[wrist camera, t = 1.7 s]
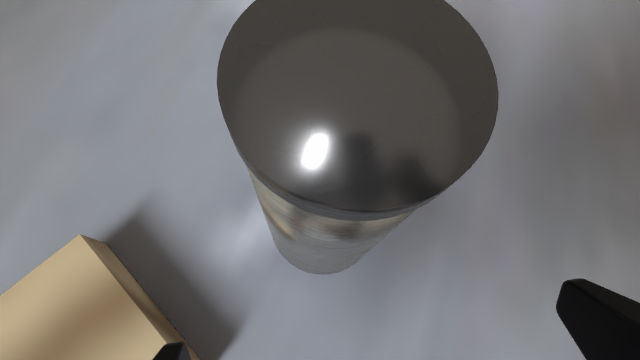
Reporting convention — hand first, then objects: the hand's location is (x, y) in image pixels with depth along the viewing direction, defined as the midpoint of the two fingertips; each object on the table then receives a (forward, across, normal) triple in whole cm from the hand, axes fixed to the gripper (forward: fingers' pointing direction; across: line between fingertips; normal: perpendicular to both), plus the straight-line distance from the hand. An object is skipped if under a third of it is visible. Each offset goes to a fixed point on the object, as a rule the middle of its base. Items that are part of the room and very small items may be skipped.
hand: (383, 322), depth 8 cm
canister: (+12, 0, +5) cm, 13 cm away
